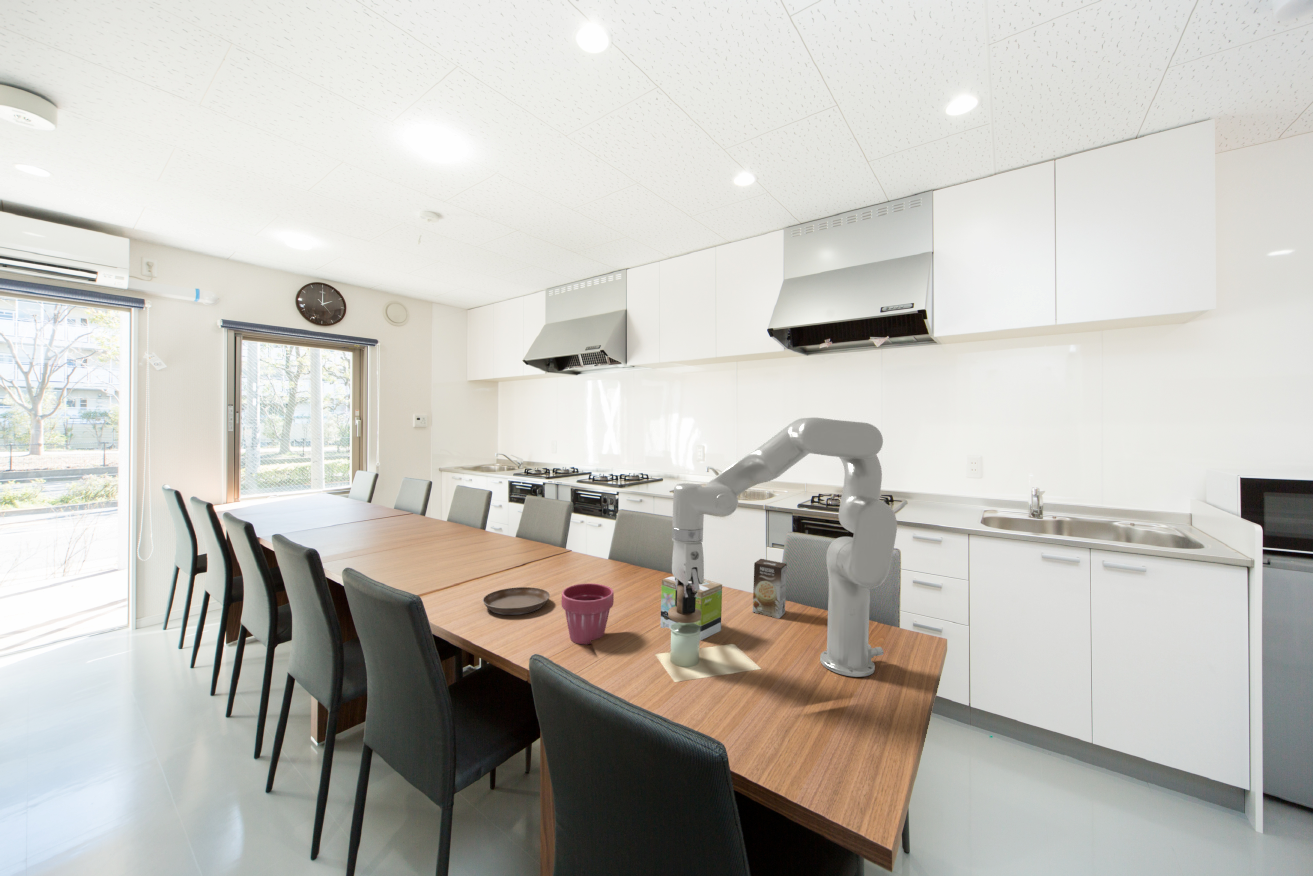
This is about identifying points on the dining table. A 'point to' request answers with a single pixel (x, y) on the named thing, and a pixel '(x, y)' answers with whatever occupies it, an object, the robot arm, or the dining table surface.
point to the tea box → (705, 602)
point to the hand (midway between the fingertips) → (685, 608)
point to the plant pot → (587, 610)
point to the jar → (685, 644)
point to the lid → (676, 612)
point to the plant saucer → (516, 600)
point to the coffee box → (769, 588)
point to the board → (710, 663)
